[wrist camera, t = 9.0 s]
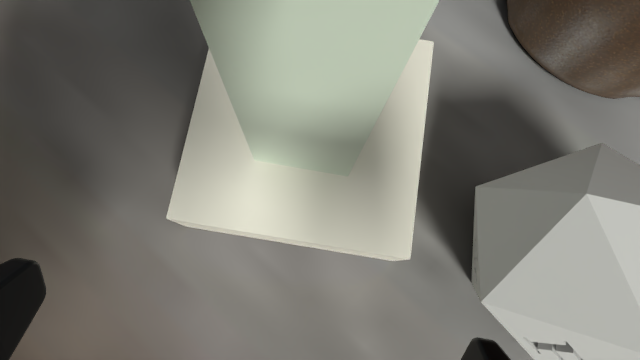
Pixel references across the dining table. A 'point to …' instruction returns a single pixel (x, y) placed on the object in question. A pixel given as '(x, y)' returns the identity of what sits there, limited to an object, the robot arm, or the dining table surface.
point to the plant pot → (583, 42)
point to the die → (563, 255)
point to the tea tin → (310, 71)
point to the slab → (307, 177)
